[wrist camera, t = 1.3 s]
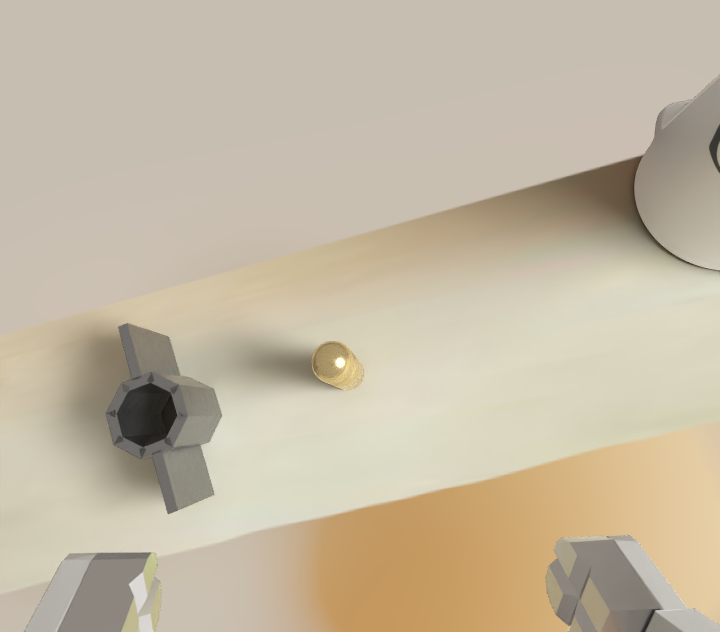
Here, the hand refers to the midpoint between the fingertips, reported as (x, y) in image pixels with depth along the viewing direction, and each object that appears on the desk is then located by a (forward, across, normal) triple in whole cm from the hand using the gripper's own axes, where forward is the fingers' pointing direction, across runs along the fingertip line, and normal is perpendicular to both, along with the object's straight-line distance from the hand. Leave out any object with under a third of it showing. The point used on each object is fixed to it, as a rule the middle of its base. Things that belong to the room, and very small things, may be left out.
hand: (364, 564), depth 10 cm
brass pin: (+30, -3, +14) cm, 33 cm away
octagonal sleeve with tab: (+30, +12, +18) cm, 38 cm away
